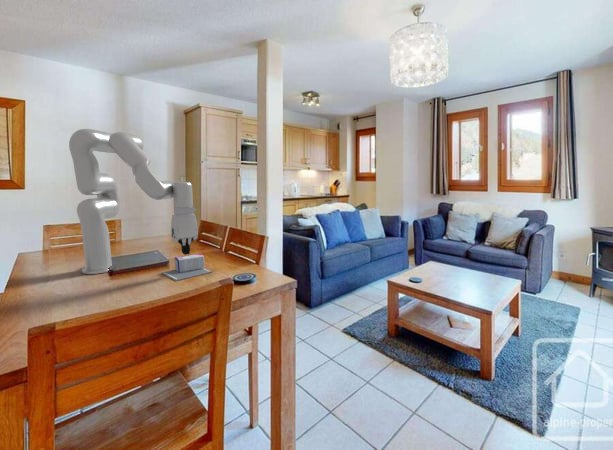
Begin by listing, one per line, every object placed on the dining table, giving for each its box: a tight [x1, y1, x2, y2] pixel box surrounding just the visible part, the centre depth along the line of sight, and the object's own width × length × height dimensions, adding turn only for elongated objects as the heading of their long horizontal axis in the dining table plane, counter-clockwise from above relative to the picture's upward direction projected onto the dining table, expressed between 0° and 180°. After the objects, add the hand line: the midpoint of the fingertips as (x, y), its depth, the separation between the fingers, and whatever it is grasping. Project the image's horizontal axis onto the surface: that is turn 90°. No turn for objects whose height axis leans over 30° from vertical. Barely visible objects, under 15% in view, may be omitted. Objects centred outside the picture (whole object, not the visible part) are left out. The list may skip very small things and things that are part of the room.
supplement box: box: [174, 253, 206, 272], centre depth 135 cm, size 6×6×12 cm
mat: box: [161, 268, 213, 282], centre depth 131 cm, size 14×16×1 cm
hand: (186, 253), depth 130 cm, fingers closed
